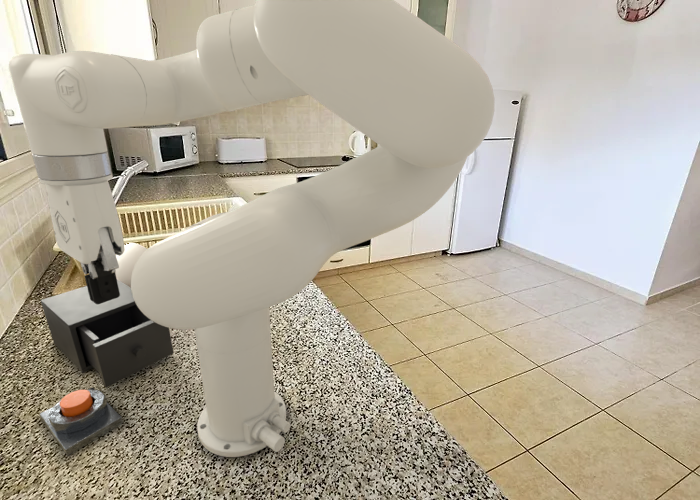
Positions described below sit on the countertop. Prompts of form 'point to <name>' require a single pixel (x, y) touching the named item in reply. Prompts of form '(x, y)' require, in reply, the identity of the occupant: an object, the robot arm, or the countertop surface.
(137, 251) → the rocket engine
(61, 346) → the grey drawer box
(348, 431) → the countertop surface
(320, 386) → the countertop surface
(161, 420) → the countertop surface
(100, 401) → the control block
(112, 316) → the dark grey drawer
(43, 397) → the countertop surface
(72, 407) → the button
